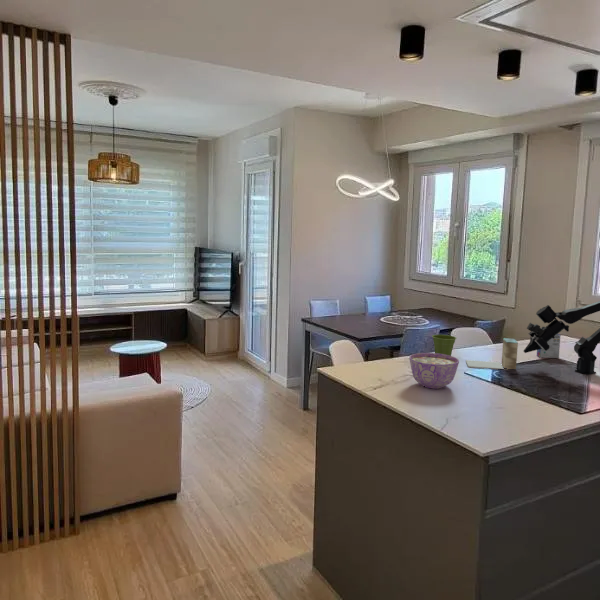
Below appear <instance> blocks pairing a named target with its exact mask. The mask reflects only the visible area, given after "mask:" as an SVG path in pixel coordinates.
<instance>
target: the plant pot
mask: <svg viewBox="0 0 600 600" xmlns="http://www.w3.org/2000/svg"><path fill="white" fill-rule="evenodd" d="M431 337H432V341H433V344H434V345H433V347H434V353H438V354H445V355H449V356H452V353H453V348H454V344H455V342H456V340H457V337H456V336H452V335H448V334H433V335H431Z"/></svg>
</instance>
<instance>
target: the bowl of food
mask: <svg viewBox="0 0 600 600" xmlns="http://www.w3.org/2000/svg"><path fill="white" fill-rule="evenodd" d="M409 364H410V368H411V374H412V378H413V379H414V380H415V381H416V383H418V384H420V385H422V386H423V387H424V386H425V388H427V389H432V390H433V389H434V390H435V389H438V390H439V389H441V388H443V387H446V386H448V385H450V384H451V383H452V382H453V380H454V379H455V376H456V373H457V370H458V367H459V364H460V360H459V358H457V357H455V356H453V355H451V356H449V355H445V354H438V353H435V352H418V353H413V354H410V355H409Z"/></svg>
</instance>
